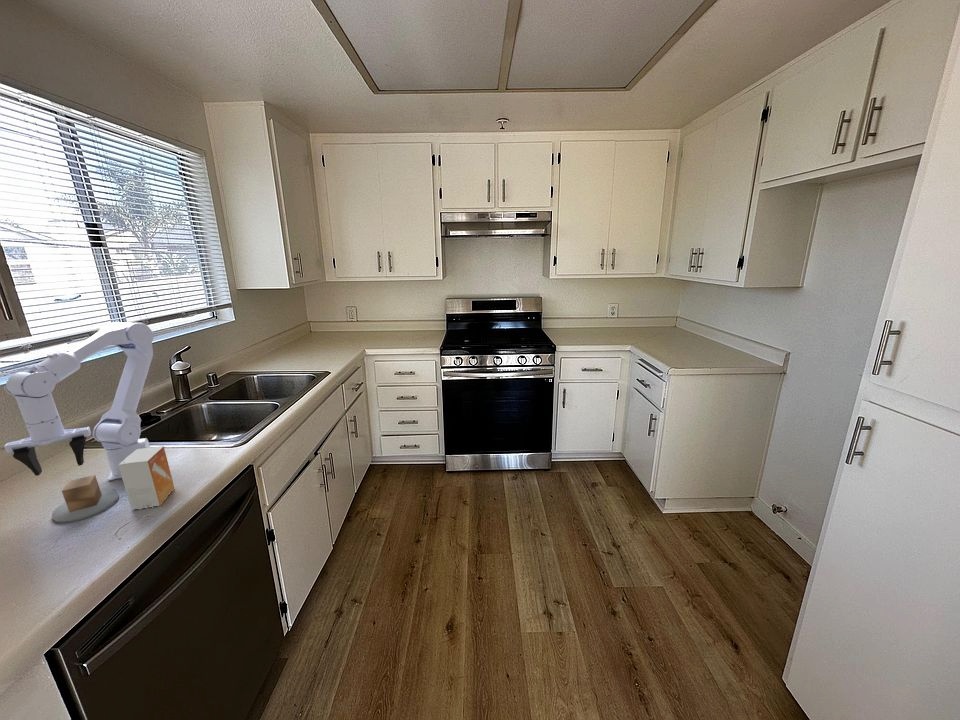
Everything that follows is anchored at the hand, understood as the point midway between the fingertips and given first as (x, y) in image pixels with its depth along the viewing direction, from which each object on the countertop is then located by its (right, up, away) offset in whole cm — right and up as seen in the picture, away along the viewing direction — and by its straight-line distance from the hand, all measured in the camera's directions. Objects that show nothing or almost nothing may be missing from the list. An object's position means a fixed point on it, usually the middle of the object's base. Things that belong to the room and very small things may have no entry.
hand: (60, 468), depth 100 cm
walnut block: (+7, -9, 0) cm, 11 cm away
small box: (+22, -9, +2) cm, 24 cm away
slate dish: (+7, -10, 0) cm, 12 cm away
